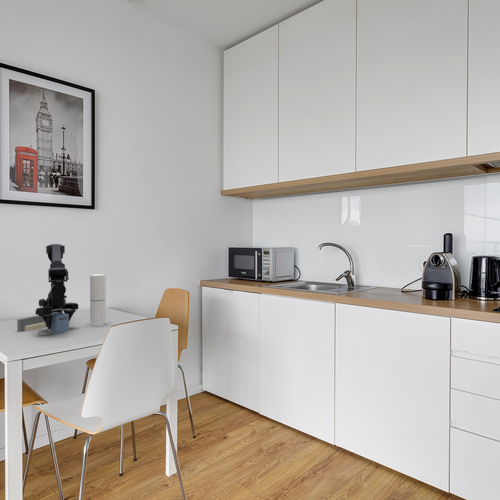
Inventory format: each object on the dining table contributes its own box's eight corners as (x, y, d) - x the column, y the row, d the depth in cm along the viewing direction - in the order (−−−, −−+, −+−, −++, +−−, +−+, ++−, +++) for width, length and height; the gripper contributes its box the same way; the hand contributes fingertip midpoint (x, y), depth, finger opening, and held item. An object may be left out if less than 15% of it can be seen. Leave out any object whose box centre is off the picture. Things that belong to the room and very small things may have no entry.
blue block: (58, 329, 185) (58, 312, 185) (70, 331, 182) (70, 314, 182) (45, 332, 180) (45, 314, 179) (58, 334, 176) (58, 316, 176)
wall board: (55, 322, 199) (55, 312, 199) (60, 323, 197) (60, 312, 197) (17, 331, 181) (17, 319, 181) (22, 332, 179) (22, 320, 179)
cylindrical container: (91, 326, 191) (91, 275, 190) (88, 324, 197) (88, 274, 196) (107, 325, 195) (107, 275, 194) (103, 322, 201) (103, 274, 200)
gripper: (62, 290, 192) (63, 321, 193) (27, 295, 175) (27, 329, 176) (79, 291, 187) (79, 324, 188) (44, 296, 171) (44, 332, 171)
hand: (57, 327), depth 181 cm, fingers open, 9 cm apart
